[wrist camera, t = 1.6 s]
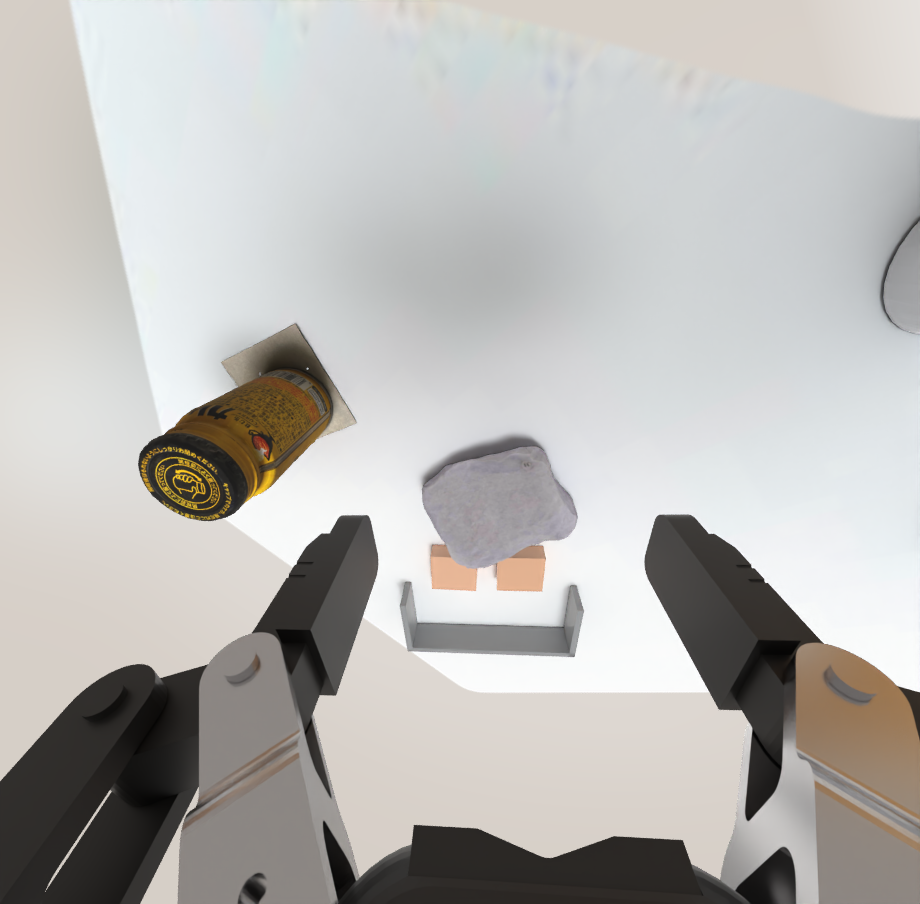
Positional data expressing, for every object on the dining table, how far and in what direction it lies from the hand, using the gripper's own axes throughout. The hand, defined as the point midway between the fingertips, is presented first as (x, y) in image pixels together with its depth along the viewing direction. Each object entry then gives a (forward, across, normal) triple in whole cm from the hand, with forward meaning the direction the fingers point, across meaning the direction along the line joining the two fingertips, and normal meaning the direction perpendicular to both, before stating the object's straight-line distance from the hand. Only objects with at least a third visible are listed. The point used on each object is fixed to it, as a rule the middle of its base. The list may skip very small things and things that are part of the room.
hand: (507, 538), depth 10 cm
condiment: (+19, +16, +1) cm, 24 cm away
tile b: (+19, -3, +20) cm, 27 cm away
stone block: (+19, 0, +11) cm, 22 cm away
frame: (+18, 0, +27) cm, 32 cm away
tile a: (+19, +4, +20) cm, 28 cm away
